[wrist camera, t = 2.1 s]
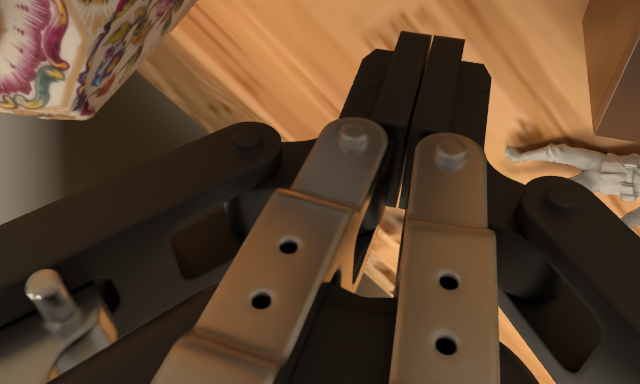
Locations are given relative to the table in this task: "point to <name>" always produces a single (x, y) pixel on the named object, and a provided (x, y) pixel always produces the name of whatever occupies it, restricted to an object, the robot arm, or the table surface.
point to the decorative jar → (76, 51)
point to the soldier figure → (594, 171)
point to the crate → (614, 67)
